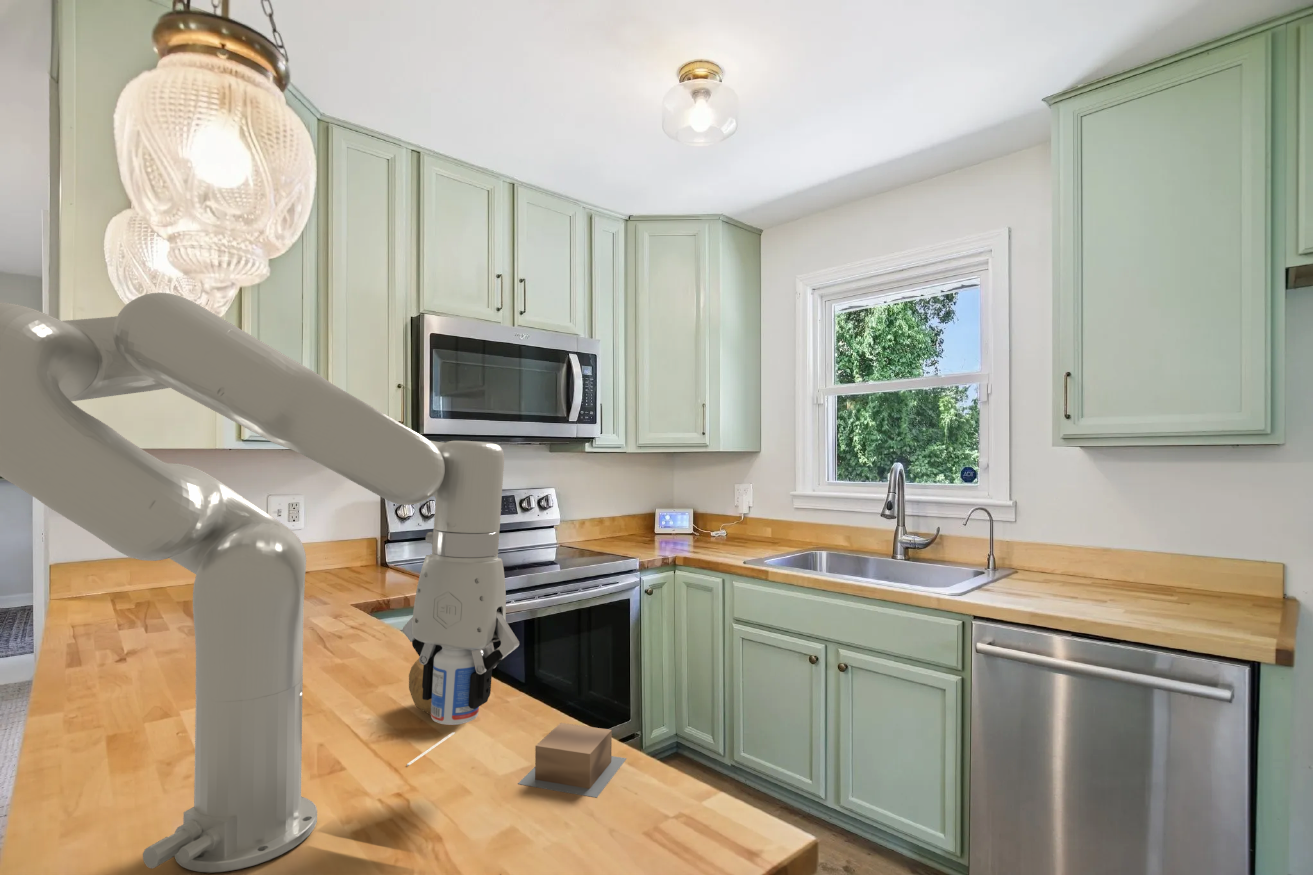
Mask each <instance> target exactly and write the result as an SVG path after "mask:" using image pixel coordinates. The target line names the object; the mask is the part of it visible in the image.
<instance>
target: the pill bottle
mask: <svg viewBox="0 0 1313 875" xmlns="http://www.w3.org/2000/svg"><path fill="white" fill-rule="evenodd" d="M441 647H443V650H440V651H439V652H438V653H437V654H436V655H435V657H434V665H433V683H432V701H431V715H430V717H431V719H432V721H434V722H435V723H438V724H441V725H450V726H451V725H453V726H455V725H456V726H457V725H463V724H466V723H469V722H471V721H474V720H475V719H476V718H478V715H479V710H480V706H479V707H478V708H476V709H471V708H470V707H469V692H470V677H471V674H472V673H474V672H476V669H475V665H474V660H473V656H472V651H471V650H468V649H461V648H454V647H448V646H441Z"/></svg>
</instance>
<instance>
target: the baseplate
mask: <svg viewBox="0 0 1313 875" xmlns="http://www.w3.org/2000/svg"><path fill="white" fill-rule="evenodd" d="M627 759H628V758H626V757H621V756H615V755H611V763H610V764H609V765H608V767H607V768H606V769H605V770H604V772H603V773H602V774H601V775H600V777H599V778H598V779H597V780H596V782H595V783H594V784H593V785H592V787H591V788H590V789H588V788H582V787H576V786H570V785H564V784H558V783H552V782H546V781H541V780H535V766H533V768H532V769H531V770H530V771H529V772H528V773H527V774H526V775H525V776H524V777H523V778H522V779H521V780H519V781H518V783H517V785H520V786H526V787H527V786H528V787H533V788H539V789H545V790H549V791H550V790H551V791H556V792H562V793H567V794H572V795H573V794H574V795H579V796H584V797H590V798H598V797H599V796H600V794H601V793H602V791H604V790H605V788H606V786H608V784H609V783H610V782H611V780H612V778H613V777H614V776H615V775H616V774H617V772H618V771H619V770H620V768H621V767H622V766H623V764H624V763H625V762H626V760H627Z"/></svg>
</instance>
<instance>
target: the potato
mask: <svg viewBox="0 0 1313 875" xmlns="http://www.w3.org/2000/svg"><path fill="white" fill-rule="evenodd" d="M423 667H424V665H422V664H421V663H420V662H419V658H418V659H417V660H416V661H415V662H414V663H413V664H412V666H411V668H410V671H409V673H408V690H409V694H410V696H411V698H412V700H413V703H414V705H415V706H416V708H418V709H420V710H421V711H423V712H425V713H426V714H428V715H430V716H431V701H432V698H431V699H429V700H423V698H422V696H423V688H422V681H423Z"/></svg>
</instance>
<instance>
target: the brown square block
mask: <svg viewBox="0 0 1313 875" xmlns="http://www.w3.org/2000/svg"><path fill="white" fill-rule="evenodd" d="M612 731H613V730H612V729H608V728H600V727H599V728H598V727H594V726H586V725H578V724H572V723H566V722H559V724H557V725H556V727H554V728H553V729H552V730H551V731H550V732H549V733H548V734H546V736H545V737H544V738H542V739H541V740H540V741H539V742H538V743H537V744H535V748H534V749H535V750H534V751H535V753H534V754H535V755H534V756H535V759H534V760H535V761H534V762H535V766H534V767H535V780H541V781H546V782H552V783H558V784H564V785H570V786H576V787H582V788H588V789H590V788H591V787H592V785H593V784H594V783H595V782H596V780H597V779H598V778H599V777H600V775H601V774H602V773H603V772H604V770H605V769H606V768H607V767H608V765H609V764H610V763H611V756H612V741H613V740H612V735H613V734H612Z"/></svg>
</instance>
